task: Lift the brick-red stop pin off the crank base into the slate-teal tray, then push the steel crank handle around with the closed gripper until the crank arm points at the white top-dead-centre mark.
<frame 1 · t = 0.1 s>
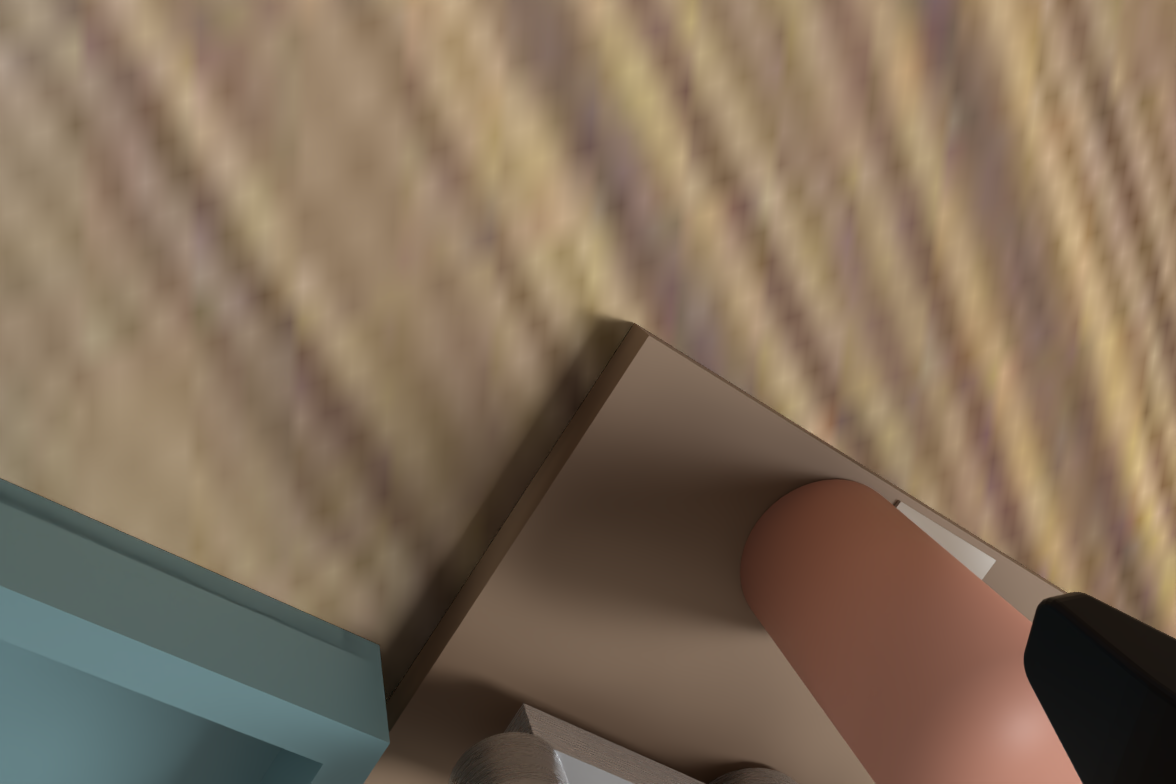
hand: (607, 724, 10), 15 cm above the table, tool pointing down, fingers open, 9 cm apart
stop pin: (822, 559, 27), point 1 cm above the table, touching crank base
tray: (19, 752, 25), on the table
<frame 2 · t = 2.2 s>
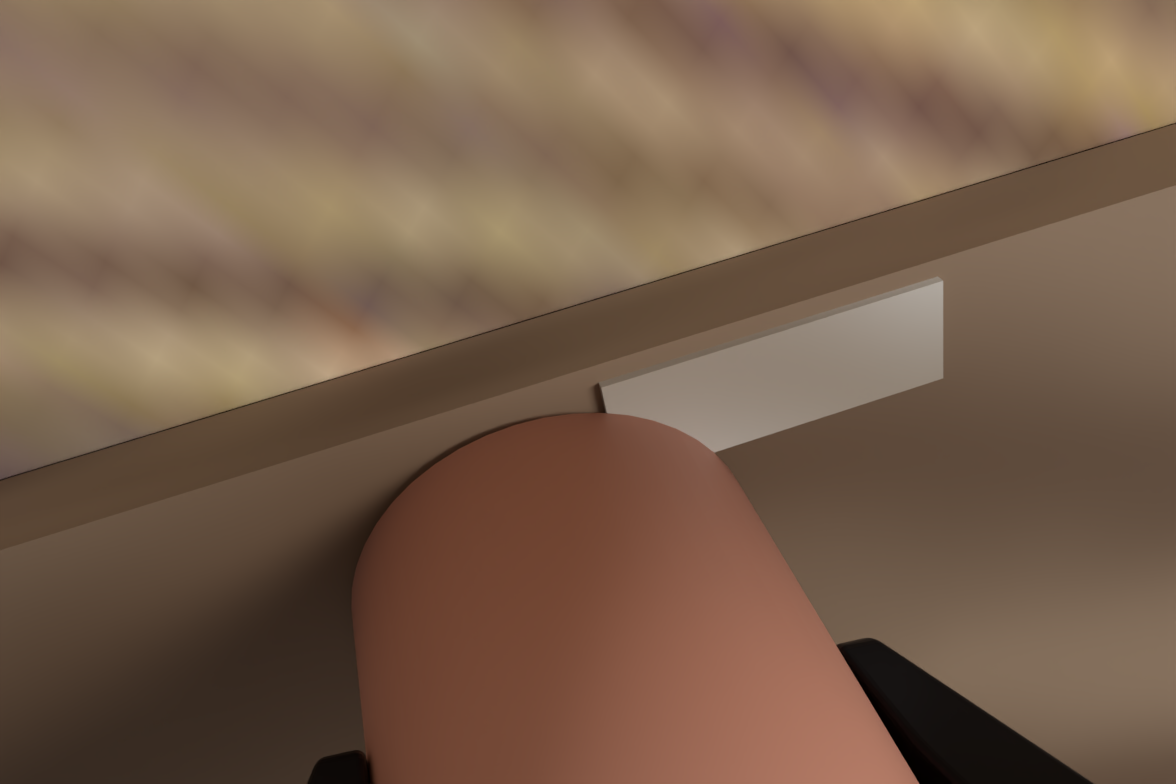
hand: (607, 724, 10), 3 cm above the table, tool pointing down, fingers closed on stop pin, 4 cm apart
stop pin: (559, 583, 11), point 1 cm above the table, touching crank base, gripper
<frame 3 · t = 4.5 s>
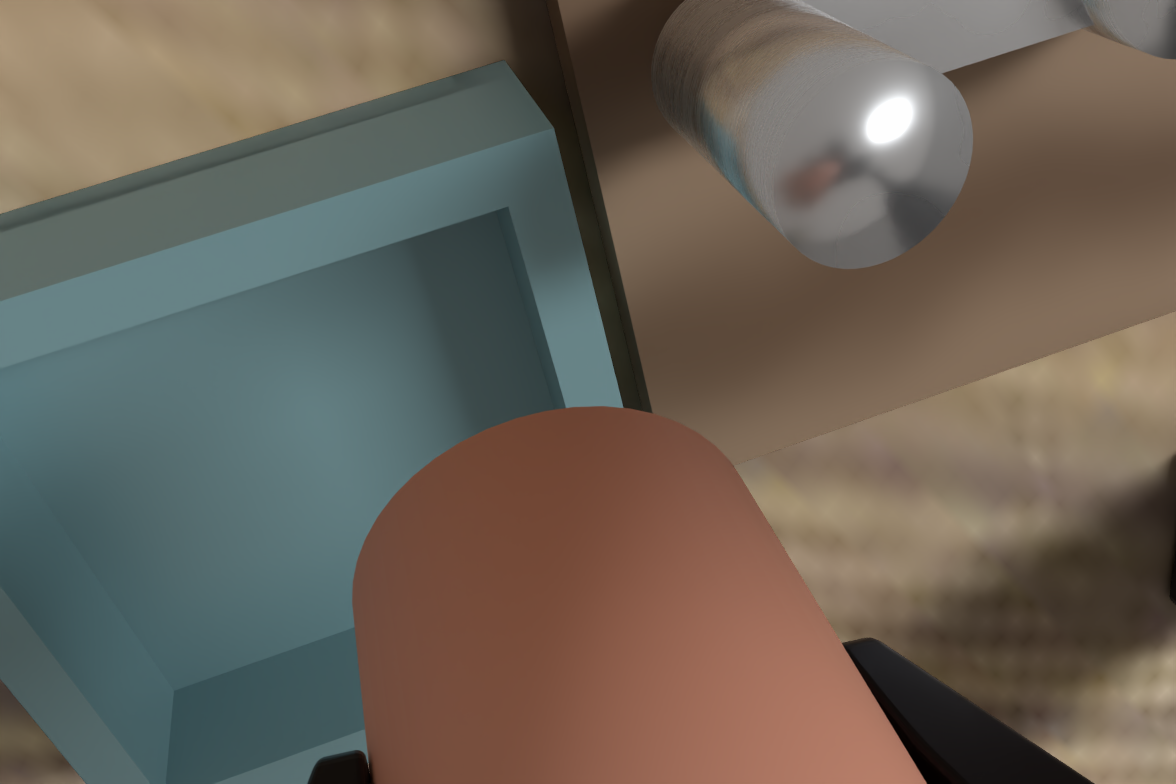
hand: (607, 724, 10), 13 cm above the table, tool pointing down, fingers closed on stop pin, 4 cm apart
stop pin: (561, 577, 11), point 11 cm above the table, touching gripper
tray: (306, 421, 22), on the table
crank: (1029, 3, 16), point 5 cm above the table, hinge at 90.0°
when the fingers open (4 cm above the table, at t = 6.9 s): stop pin drops 1 cm, resting on tray.
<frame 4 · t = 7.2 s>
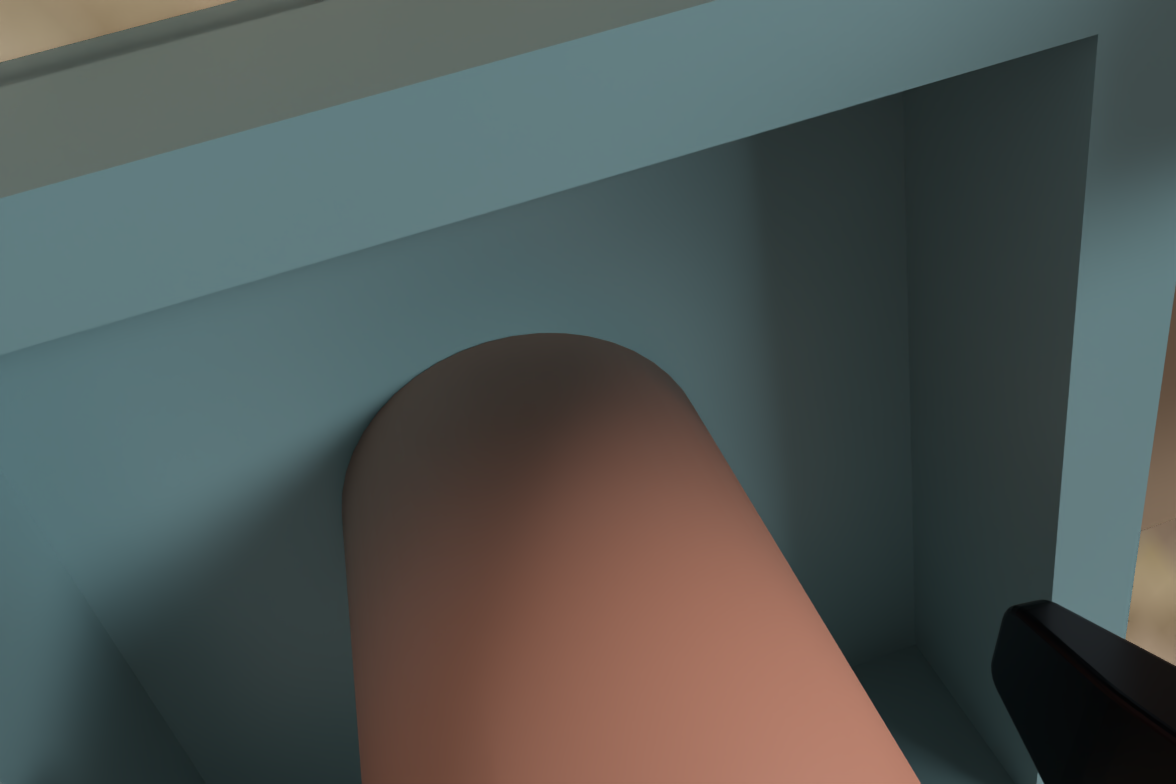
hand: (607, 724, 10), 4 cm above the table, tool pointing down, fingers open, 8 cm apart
stop pin: (531, 496, 13), point 1 cm above the table, touching tray
tray: (509, 452, 14), on the table
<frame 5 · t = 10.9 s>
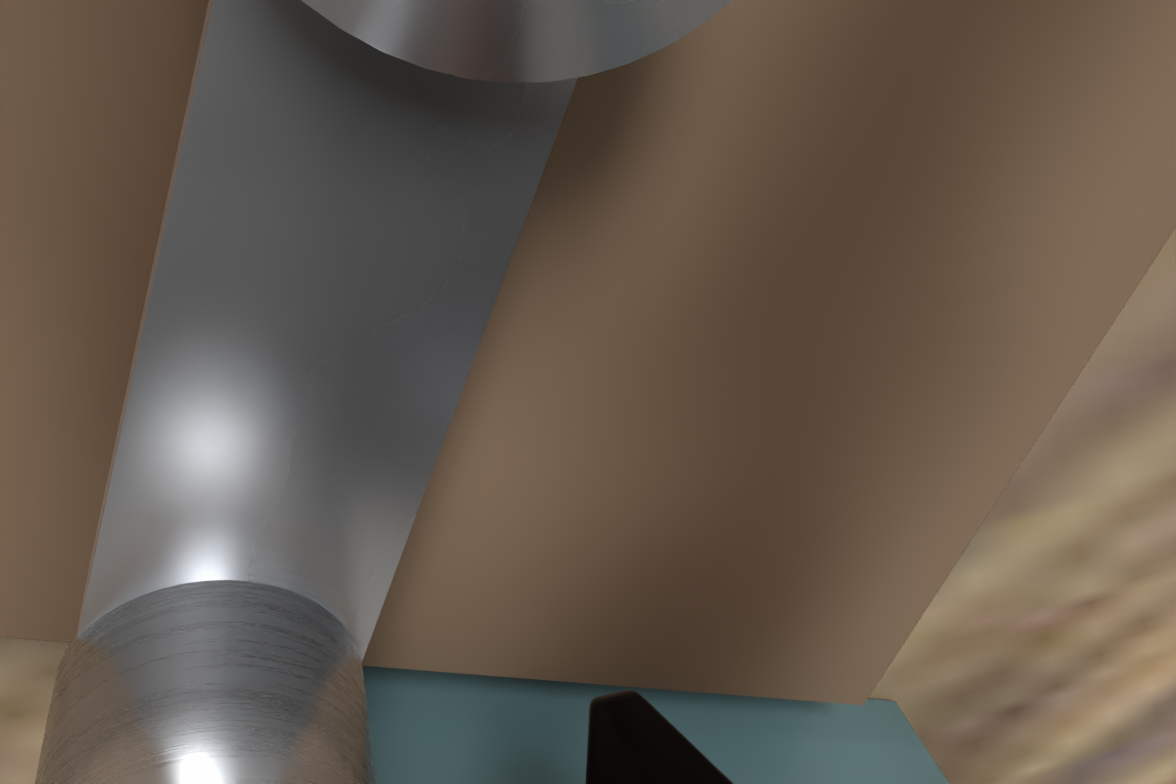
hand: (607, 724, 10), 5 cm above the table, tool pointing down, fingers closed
crank: (357, 343, 7), point 5 cm above the table, hinge at 90.0°, touching gripper
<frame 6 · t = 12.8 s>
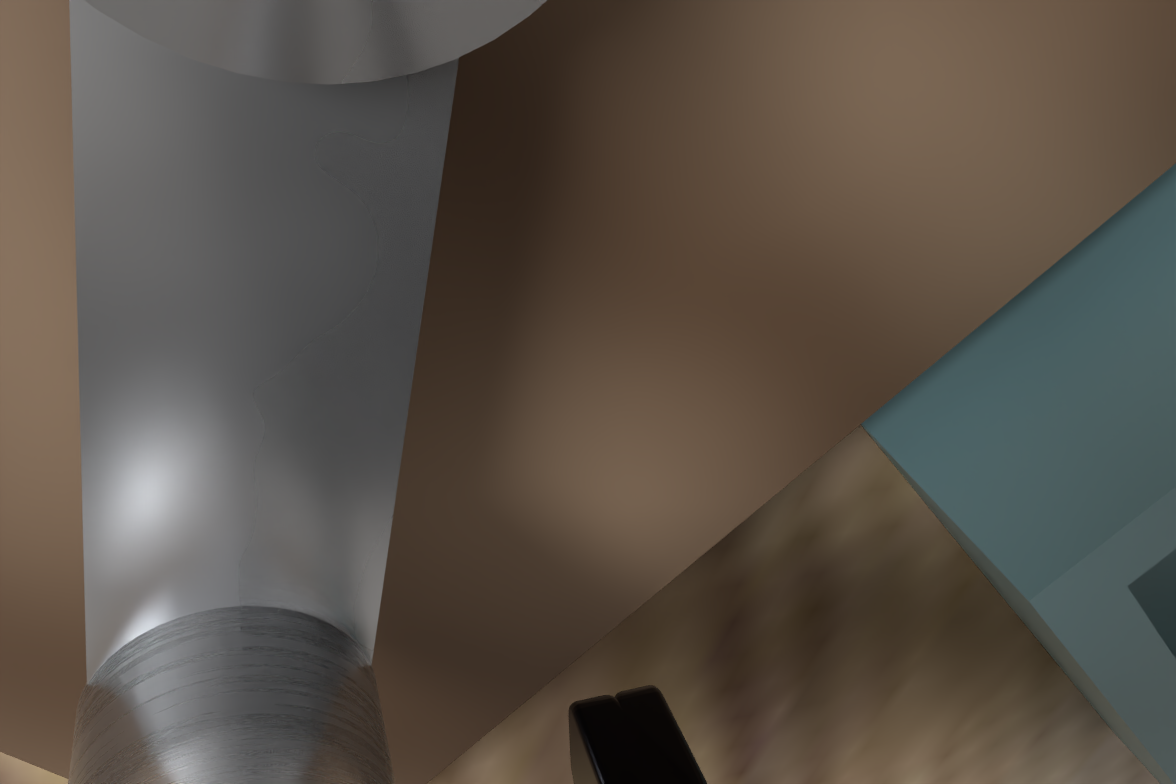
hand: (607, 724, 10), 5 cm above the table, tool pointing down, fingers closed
crank: (270, 367, 7), point 5 cm above the table, hinge at 39.2°, touching gripper
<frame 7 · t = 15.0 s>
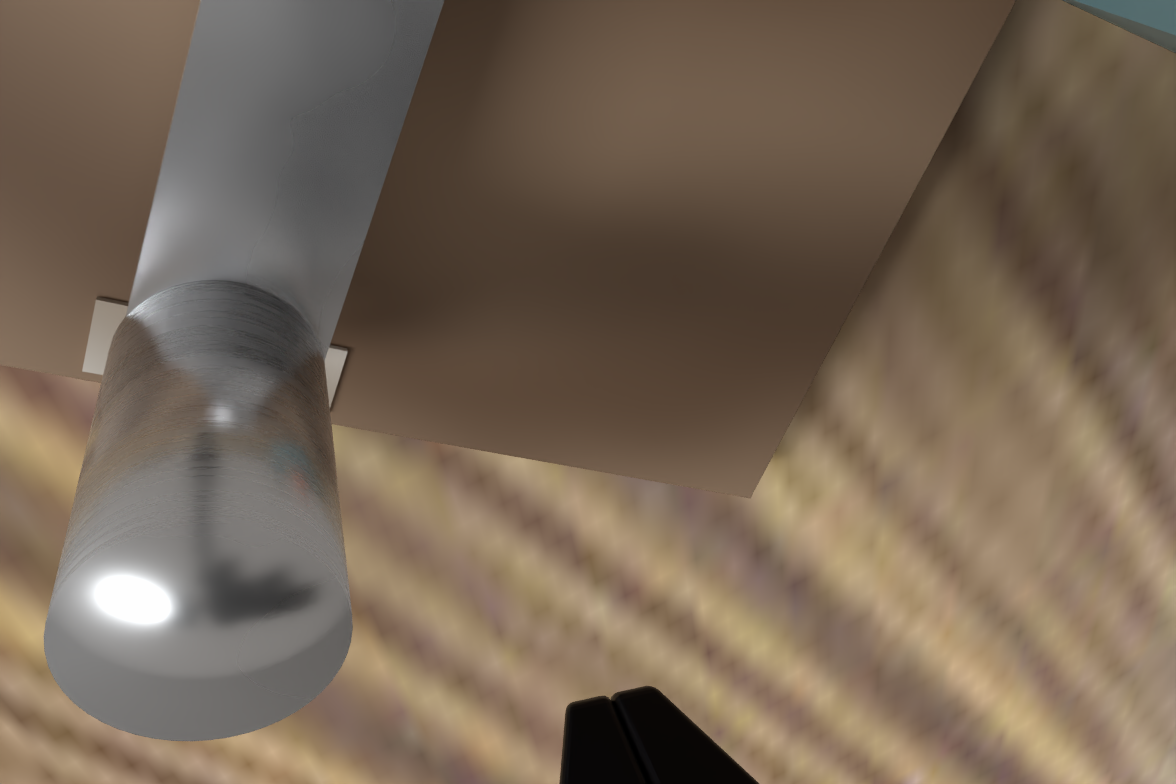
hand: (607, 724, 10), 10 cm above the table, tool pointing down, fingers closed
crank: (320, 71, 11), point 5 cm above the table, hinge at -1.3°
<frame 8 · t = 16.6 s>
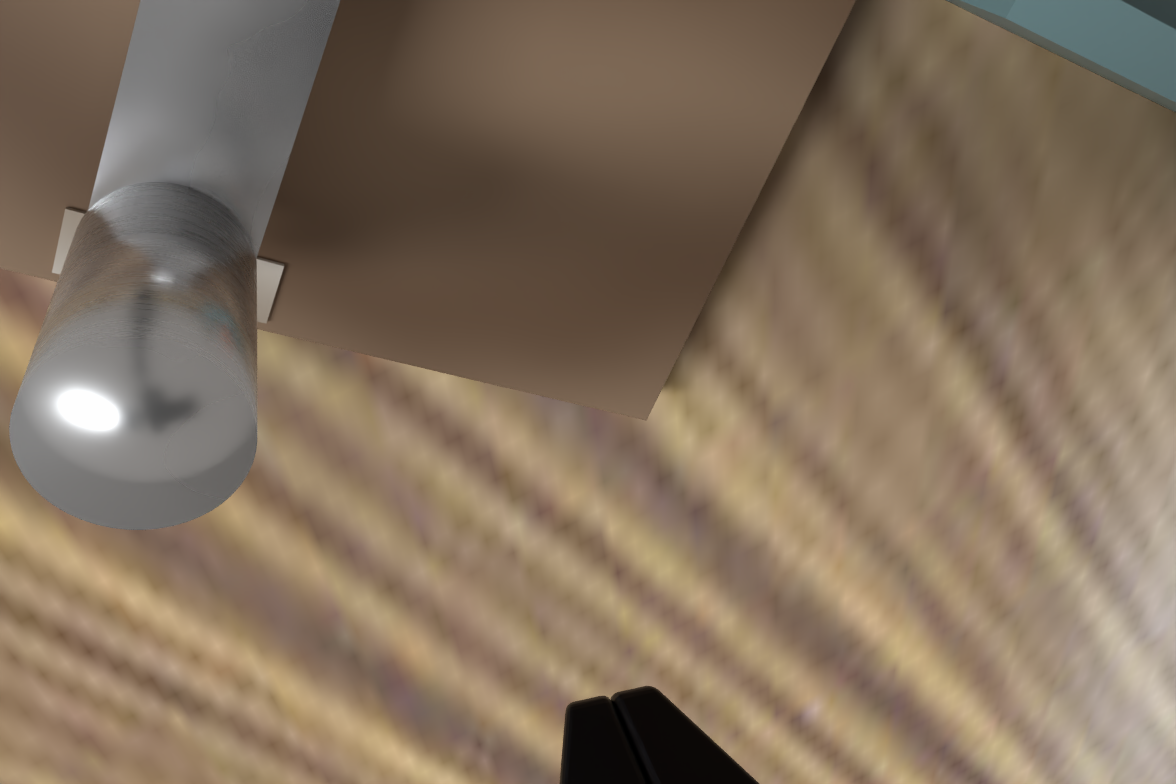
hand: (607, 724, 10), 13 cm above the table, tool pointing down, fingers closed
crank: (247, 2, 13), point 5 cm above the table, hinge at -1.3°
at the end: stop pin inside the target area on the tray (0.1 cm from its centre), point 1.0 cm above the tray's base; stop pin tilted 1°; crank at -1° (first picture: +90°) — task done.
